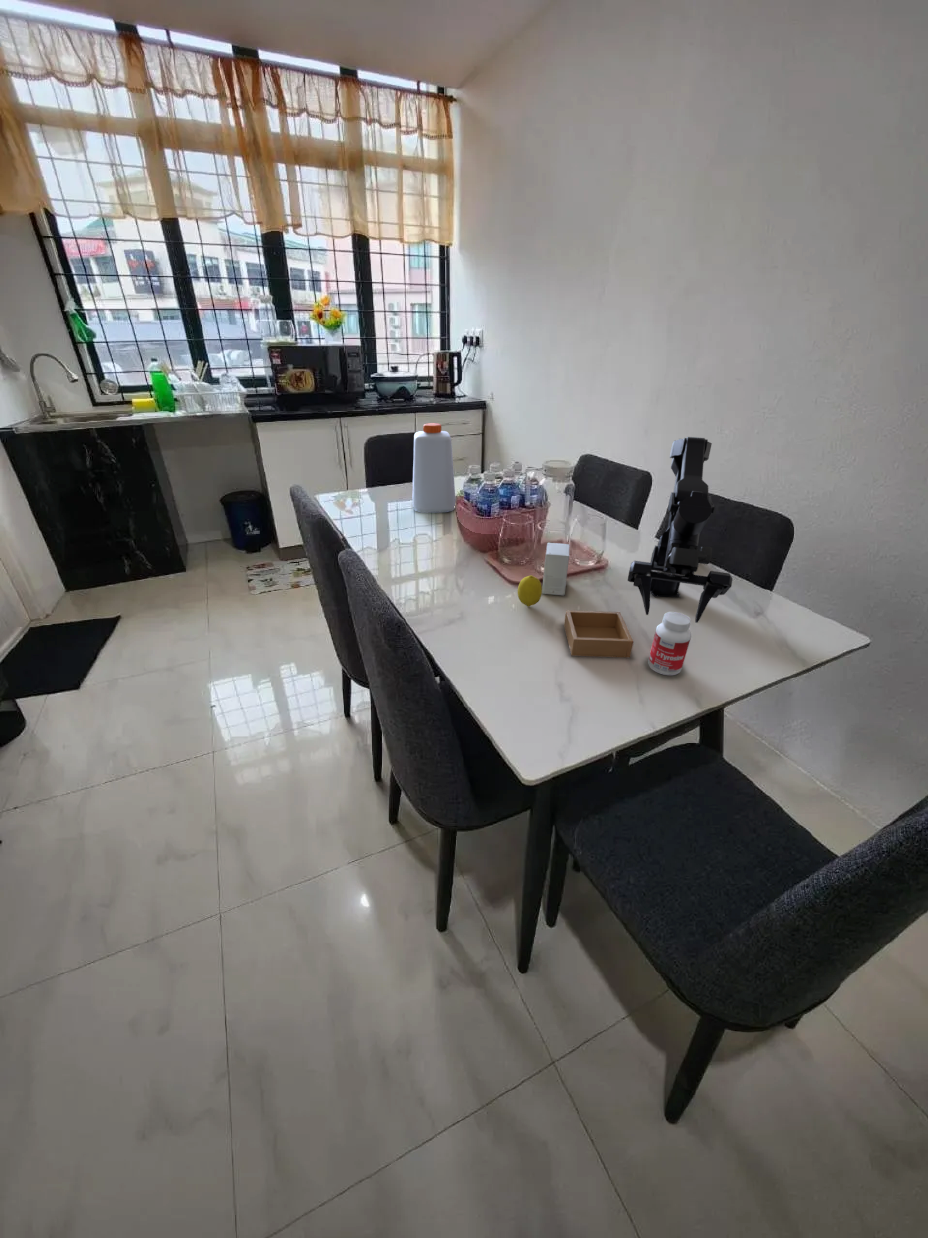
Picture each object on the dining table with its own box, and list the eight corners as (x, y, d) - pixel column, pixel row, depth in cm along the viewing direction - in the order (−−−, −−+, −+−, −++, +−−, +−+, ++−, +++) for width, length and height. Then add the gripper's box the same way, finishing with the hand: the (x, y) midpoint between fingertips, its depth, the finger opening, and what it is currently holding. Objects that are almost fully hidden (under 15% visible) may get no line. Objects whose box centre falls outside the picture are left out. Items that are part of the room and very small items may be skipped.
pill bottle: (648, 673, 95) (660, 623, 89) (646, 655, 100) (658, 607, 94) (682, 679, 94) (697, 628, 88) (679, 660, 99) (693, 612, 93)
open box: (617, 627, 109) (620, 611, 107) (630, 657, 99) (633, 641, 97) (563, 625, 110) (565, 610, 108) (571, 655, 100) (573, 639, 98)
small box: (564, 596, 122) (569, 556, 116) (541, 594, 122) (545, 554, 117) (565, 582, 128) (570, 543, 123) (543, 580, 129) (547, 541, 124)
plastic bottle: (412, 500, 186) (409, 420, 171) (452, 500, 187) (453, 420, 173) (413, 514, 173) (409, 428, 158) (456, 513, 174) (457, 428, 160)
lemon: (542, 603, 118) (545, 572, 114) (537, 614, 114) (540, 582, 110) (519, 599, 120) (522, 568, 116) (513, 609, 115) (516, 578, 111)
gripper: (639, 522, 97) (626, 598, 93) (745, 534, 92) (735, 615, 88) (633, 545, 107) (621, 614, 104) (728, 557, 102) (719, 630, 99)
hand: (671, 618), depth 98 cm, fingers open, 9 cm apart
